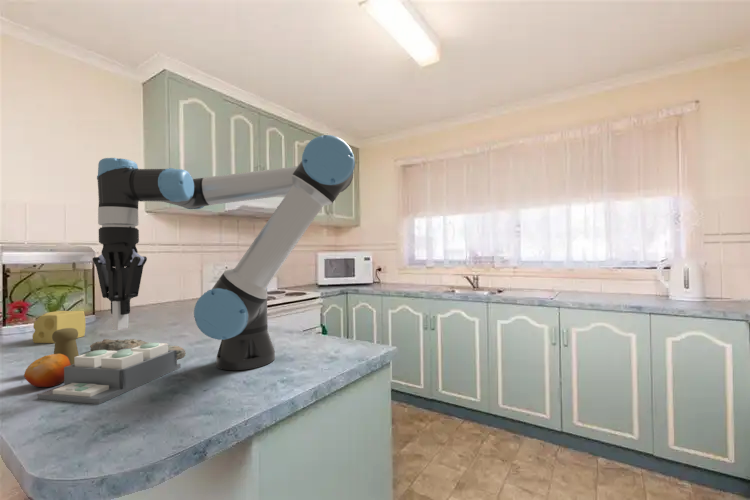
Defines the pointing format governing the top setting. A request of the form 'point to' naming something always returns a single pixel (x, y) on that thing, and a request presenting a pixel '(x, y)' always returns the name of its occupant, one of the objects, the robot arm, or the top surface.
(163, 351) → the button
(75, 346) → the cork
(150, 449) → the top surface
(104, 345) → the elongated rock
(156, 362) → the button panel
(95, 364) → the button
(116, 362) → the button
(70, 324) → the cheese
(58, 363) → the fruit
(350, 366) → the top surface
